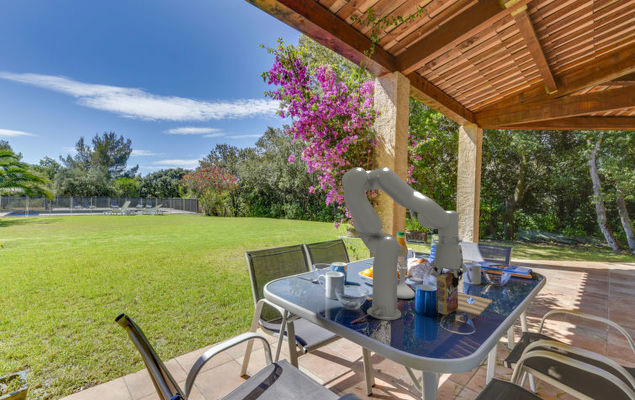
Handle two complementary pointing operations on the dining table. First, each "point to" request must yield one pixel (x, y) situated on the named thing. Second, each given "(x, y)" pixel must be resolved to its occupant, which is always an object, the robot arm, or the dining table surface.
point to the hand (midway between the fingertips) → (448, 285)
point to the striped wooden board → (472, 308)
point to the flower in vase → (403, 278)
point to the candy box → (446, 293)
